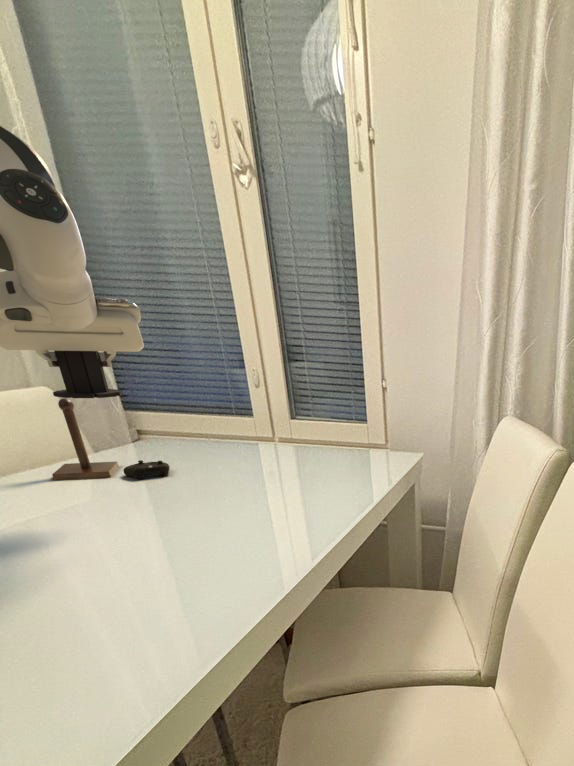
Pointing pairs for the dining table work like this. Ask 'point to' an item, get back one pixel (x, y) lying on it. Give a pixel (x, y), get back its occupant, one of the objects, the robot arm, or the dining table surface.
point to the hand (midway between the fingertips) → (80, 364)
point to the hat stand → (80, 453)
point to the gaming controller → (146, 469)
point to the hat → (83, 375)
